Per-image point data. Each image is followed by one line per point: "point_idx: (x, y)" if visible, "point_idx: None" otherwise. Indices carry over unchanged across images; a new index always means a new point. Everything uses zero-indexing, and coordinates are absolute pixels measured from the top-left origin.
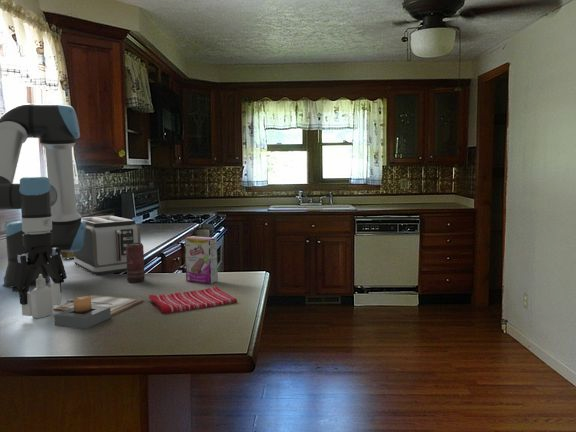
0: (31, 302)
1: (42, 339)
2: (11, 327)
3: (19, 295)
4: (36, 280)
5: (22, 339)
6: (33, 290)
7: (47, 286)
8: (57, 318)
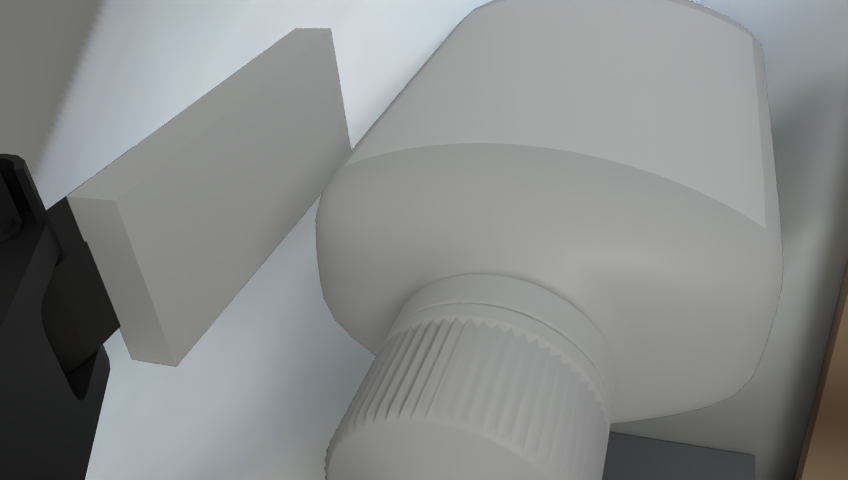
0: (271, 250)
1: (164, 457)
2: (155, 60)
3: (47, 210)
4: (331, 453)
5: None
6: (330, 269)
7: (680, 385)
8: None
